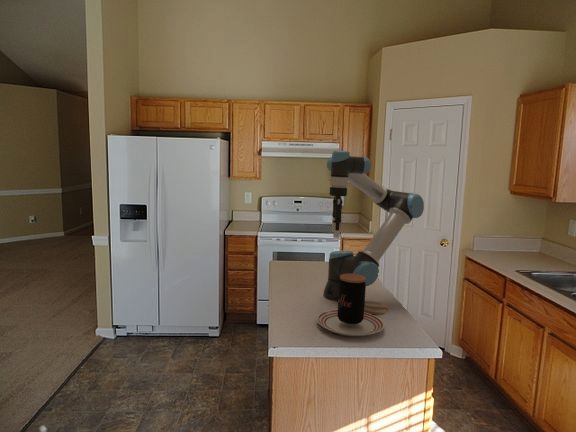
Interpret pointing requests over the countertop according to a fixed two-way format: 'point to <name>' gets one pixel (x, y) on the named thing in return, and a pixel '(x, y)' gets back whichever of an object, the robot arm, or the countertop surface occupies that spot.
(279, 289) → the countertop surface
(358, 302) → the coffee jar
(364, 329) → the dinner plate
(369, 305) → the cork trivet
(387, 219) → the robot arm
